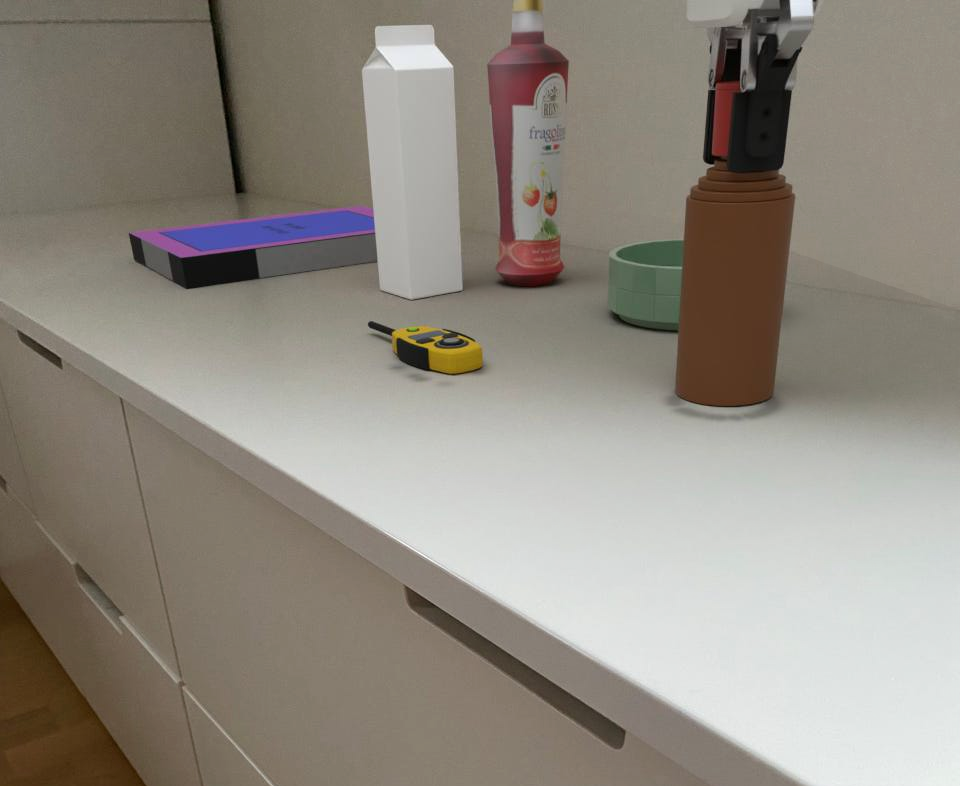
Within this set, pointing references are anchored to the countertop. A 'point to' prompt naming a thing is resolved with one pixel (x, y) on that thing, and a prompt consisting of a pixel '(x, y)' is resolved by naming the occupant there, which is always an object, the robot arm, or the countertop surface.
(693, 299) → the bottle
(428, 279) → the milk
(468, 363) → the yellow walkie talkie
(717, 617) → the countertop surface
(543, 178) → the liquor
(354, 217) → the book
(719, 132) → the cap
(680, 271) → the bowl
